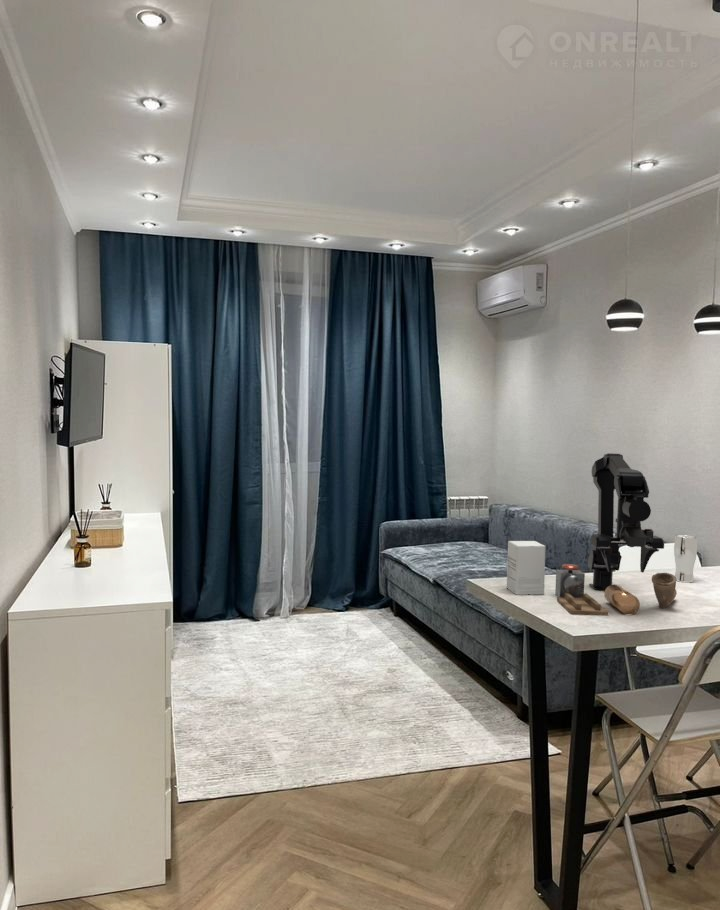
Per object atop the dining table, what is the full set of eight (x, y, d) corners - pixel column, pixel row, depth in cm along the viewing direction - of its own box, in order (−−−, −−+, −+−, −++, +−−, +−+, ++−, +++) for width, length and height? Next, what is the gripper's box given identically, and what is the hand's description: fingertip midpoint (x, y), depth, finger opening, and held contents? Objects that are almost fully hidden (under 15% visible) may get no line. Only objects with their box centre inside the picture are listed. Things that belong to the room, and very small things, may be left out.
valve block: (555, 594, 209) (556, 563, 209) (578, 595, 209) (579, 564, 209) (561, 600, 202) (563, 568, 202) (585, 601, 202) (587, 569, 202)
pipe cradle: (557, 600, 202) (557, 592, 202) (591, 601, 202) (591, 593, 202) (571, 614, 188) (571, 604, 188) (608, 615, 188) (608, 605, 188)
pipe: (683, 601, 206) (685, 567, 205) (672, 613, 192) (674, 577, 191) (660, 597, 209) (662, 564, 209) (648, 609, 196) (649, 574, 195)
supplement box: (533, 587, 218) (535, 540, 217) (544, 595, 209) (546, 545, 208) (505, 587, 216) (507, 540, 216) (515, 595, 208) (517, 545, 207)
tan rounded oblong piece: (606, 605, 201) (602, 587, 201) (625, 600, 201) (621, 582, 201) (622, 617, 189) (617, 597, 189) (642, 612, 189) (637, 592, 189)
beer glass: (670, 577, 237) (673, 534, 236) (693, 579, 235) (695, 535, 235) (674, 582, 231) (676, 537, 230) (697, 583, 229) (699, 538, 228)
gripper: (604, 519, 186) (601, 577, 187) (674, 521, 186) (671, 579, 187) (591, 514, 197) (588, 568, 198) (657, 515, 197) (654, 570, 198)
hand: (625, 571), depth 195 cm, fingers open, 9 cm apart
